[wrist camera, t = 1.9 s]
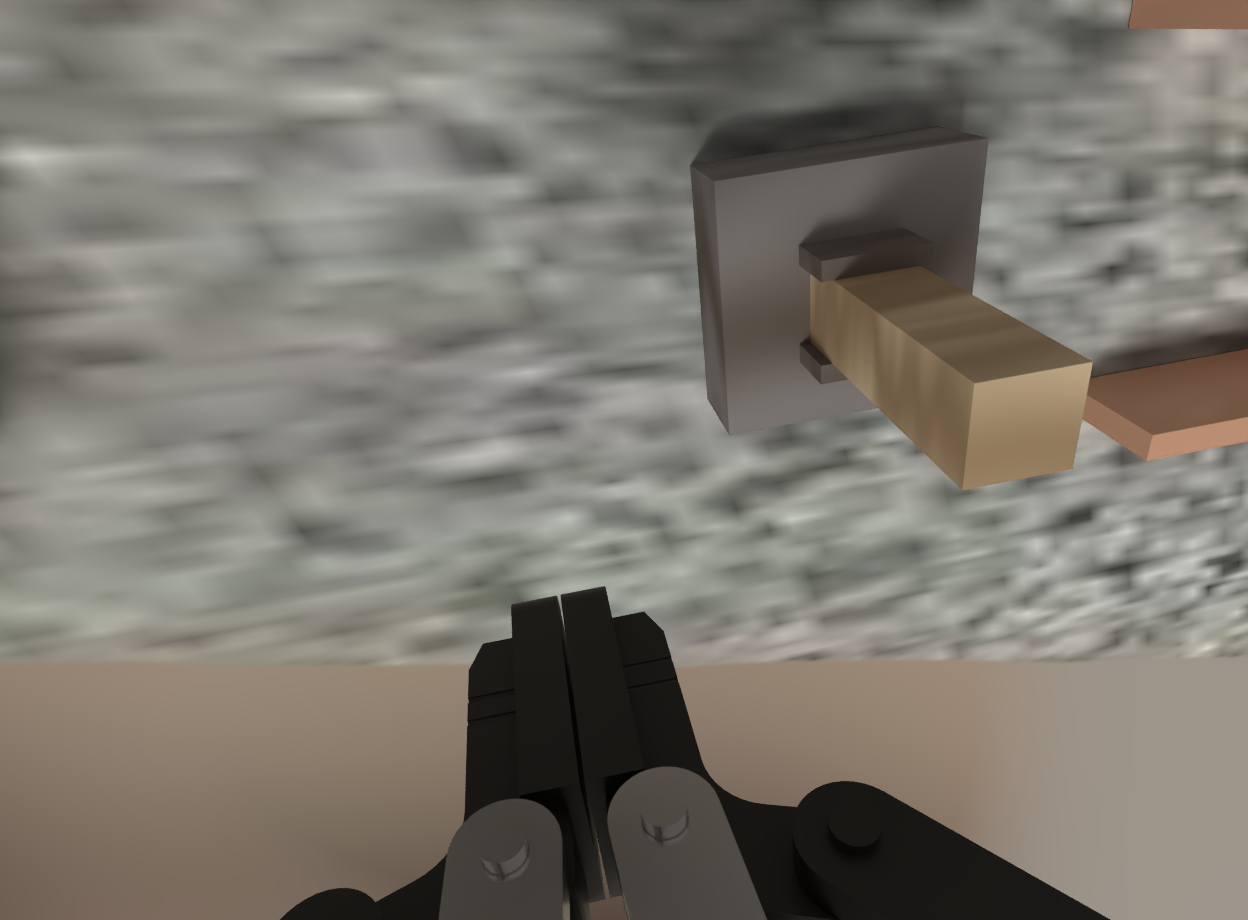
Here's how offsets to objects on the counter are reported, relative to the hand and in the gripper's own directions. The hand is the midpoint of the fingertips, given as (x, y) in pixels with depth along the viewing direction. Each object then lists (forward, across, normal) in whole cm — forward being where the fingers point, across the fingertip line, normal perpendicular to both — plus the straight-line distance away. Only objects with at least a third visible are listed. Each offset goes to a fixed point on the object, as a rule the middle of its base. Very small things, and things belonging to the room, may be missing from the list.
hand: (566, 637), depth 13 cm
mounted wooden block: (+16, -10, 0) cm, 18 cm away
